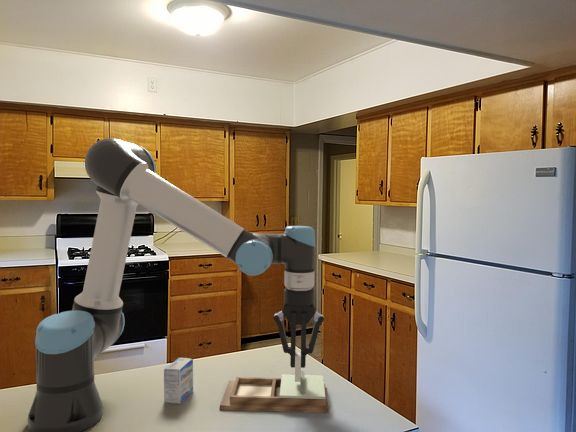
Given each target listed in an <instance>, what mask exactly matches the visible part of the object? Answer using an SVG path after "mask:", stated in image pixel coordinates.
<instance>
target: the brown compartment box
mask: <svg viewBox="0 0 576 432" xmlns="http://www.w3.org/2000/svg"><path fill="white" fill-rule="evenodd" d="M235 378H236V379H235V380H228V382H227V385H226V387H225V390H224V393H223V396H222V398H221V401H220V404H219V410H224V411H225V410H229V411H256V412H257V411H259V412H260V411H262V412H287V413H288V412H291V413H292V412H293V413H294V412H295V413H323V414H324V413H325V414H328V413H329V404H328V403H329V402H328V396H327V395H328V394H327V387H326V383H325V379H324V378H323V381H324V389H325V399H302V398H280V387H281V377H250V376H249V377H248V376H236V377H235Z"/></svg>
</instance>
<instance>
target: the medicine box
mask: <svg viewBox="0 0 576 432" xmlns="http://www.w3.org/2000/svg"><path fill="white" fill-rule="evenodd" d="M193 390H194V359H193V358H188V357H177V359H175V360H174V361H173V362H171V363H170V364H169V365H168V366H166V367H165V368H164V369H163V402H164V403H168V404H178V405H181V404H182V403H183V402H184V401H185V399H187V398H188V396H189V395H191V393H192V392H193Z"/></svg>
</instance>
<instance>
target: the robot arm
mask: <svg viewBox="0 0 576 432" xmlns="http://www.w3.org/2000/svg"><path fill="white" fill-rule="evenodd" d="M84 168H85V172H86V174H87V176H88V178H89V179H90V180H91V181H92V183H94V184H96V189H95V193H96V194H97V196H98V197H99V198H100V202H99V208H98V213H97V217H96V223H95V227H94V232H93V237H92V238H93V239H92V243H91V244H92V245H91V248H90V252H89V253H90V254H89V258H88V263H87V269H86V274H85V279H84V282H83V283H84V284H83V288H82V289H83V290H82V292H80V293H79V294H78V295H76V296H75V297H74V299H73V304H72V308H71V310H66V311H61V312H59V313H54V314H51V315H50V316H47V317H45V318H43V320H41V321H40V322H39V324H38V325H37V327H36V331H35V333H36V334H35V339H34V346H35V367H36V368H35V369H36V370H35V377H36V392H35V395H34V397H33V401H32V404H31V407H30V409H29V413H28V415H27V430H28V431H29V432H84V431H85V430H88V429H90V428H92V427H93V426H94V425H95V424H97V423H98V422H99V421H100V420H101V419H102V417H103V414H104V412H103V409H104V407H103V405H104V404H103V401H102V399H101V396H100V392H99V391H98V388H97V386H96V382H95V359H96V358H97V357H98V356H99V355H101V354H102V353H103V352H105V350H107V349H109V348H110V347H111V346H113V345H114V344H115V343H116V342H117V341H118V339H119V338H120V336H121V335H122V333H123V332H124V329H125V328H124V327H125V323H126V322H125V321H126V320H125V314H124V312H123V307H124V302H123V299H121V297H120V291H121V287H122V282H123V276H124V272H125V271H124V270H125V266H126V262H127V261H126V260H127V256H128V252H129V251H128V250H129V246H130V242H131V238H132V232H133V227H134V221H135V218H136V217H135V216H136V212H137V207H138V206H139V205H140V206H142V207H143V208H144V209H146V210H148V211H150V212H151V213H153V214H155V215H156V216H157V217H160V218H161V219H163V220H164V221H166V222H167V223H169V224H170V225H172V226H174V227H175V228H177V229H179V230H180V231H182V232H184V233H186V234H187V235H189V236H190V237H192V238H194V239H195V240H198V241H199V242H200V243H201V244H203V245H206V246H207V247H208V248H210V249H212V250H213V251H216V252H217V253H218V254H220V255H221V256H223V257H225V258H226V259H228V260H229V261H231V262H232V263H234V264H236V265H237V267H238V268H239V270H240V271H241V272H242V273H244V274H246V275H247V276H254V277H255V276H258V275H262V274H263V273H265V272H266V271H267V270H268V269H269V268H270V267H271V265H272V264H273V265H274V264H275V265H282V264H283V265H284V283H283V284H284V286H285V288H284V290H283V291H284V292H283V300H284V301H283V306H282V308H281V310H280V311H278V312H275V313H274V314H273V320H274V322H275V323H276V325H277V329H278V334H279V337H280V341H281V342H280V343H281V347H282V350H283V352H284V353H285V354H288V355H289V356H290V363H289V366H290V368H293V369H294V375H295V382H301V371H302V370H301V369H305V368H306V361H307V360H306V357H307V355H308V354H313V353H314V350H315V345H316V341H317V339H318V338H317V337H318V334H319V331H320V326H321V325H322V323H323V322H324V320H325V316H324V314H323V313H319V312H318V311H317V309H316V307H315V289H314V287H315V273H316V272H315V263H316V262H315V261H316V231H315V228H314V227H312V226H309V225H288V226H286V227H285V230H284V233H254V232H250V231H249V230H247V229H245V228H244V227H242V226H240V225H239V224H237V223H236V222H234V221H233V220H231V219H229V218H227V217H226V216H224V215H223V214H221V213H220V212H218V211H216V210H215V209H213V208H211V207H210V206H208V205H206V204H205V203H204V202H202V201H200V200H198V199H196V197H194V196H192V195H190V194H189V193H187V192H186V191H183V190H182V189H180V187H177V186H175V185H174V184H173V183H170V182H169V181H168V180H166V179H164V178H162V177H161V176H160V175H158V174H156V173H157V172H156V171H157V168H156V163H155V159H154V157H153V156H152V154H151V153H150V152H149V150H147V149H146V148H145V147H143V146H141V145H139V144H135V143H133V142H130V141H125V140H121V139H118V138H112V137H110V138H109V137H107V138H103V139H100V140H98V141H96V142H94V143H93V144H92V145H91V146H90V147H89V148H88V150H87V151H86V154H85V158H84ZM313 317H314V318H313ZM284 318H285V319H286V320H287V321H288V323H289V324H290V346H289V344H288V343H289V342H288V338H287V334H286V331H285V326H284V322H283V321H284ZM312 318H313V321H314V323H313V326H312V327H313V328H312V332H311V335H310V339H309V344H308V346H307V324H309V322H311V320H312ZM298 325H300V331H301V332H300V352H296V346H297V345H296V343H297V342H296V340H297V339H296V338H297V334H296V333H297V326H298Z"/></svg>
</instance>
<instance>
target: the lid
mask: <svg viewBox="0 0 576 432" xmlns="http://www.w3.org/2000/svg"><path fill="white" fill-rule="evenodd" d="M280 378H281V387H280V398H302V399H325V389H324V383H325V380H324V381H323V379H324V376H323V375H322V374H321V375H318V374H315V375H313V374H305V370H301V382H295V374H288V373H287V374H284V373H282V374H281V377H280Z"/></svg>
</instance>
